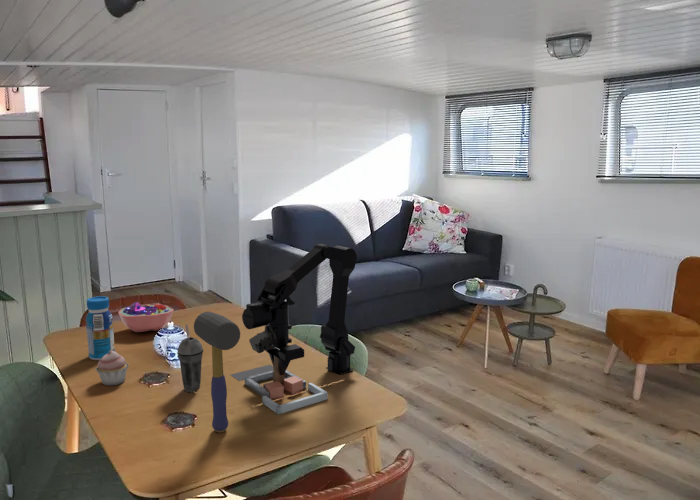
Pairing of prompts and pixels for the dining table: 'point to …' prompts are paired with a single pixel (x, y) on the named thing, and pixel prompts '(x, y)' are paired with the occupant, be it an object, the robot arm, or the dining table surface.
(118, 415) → the dining table surface
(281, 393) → the dusty rose cube
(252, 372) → the mat
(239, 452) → the dining table surface
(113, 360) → the cupcake
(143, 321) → the cell model
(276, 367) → the t-shaped scraper
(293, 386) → the salmon pink cube
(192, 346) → the beverage cup
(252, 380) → the slot channel
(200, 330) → the rubber mallet
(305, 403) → the tray
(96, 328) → the beverage bottle
